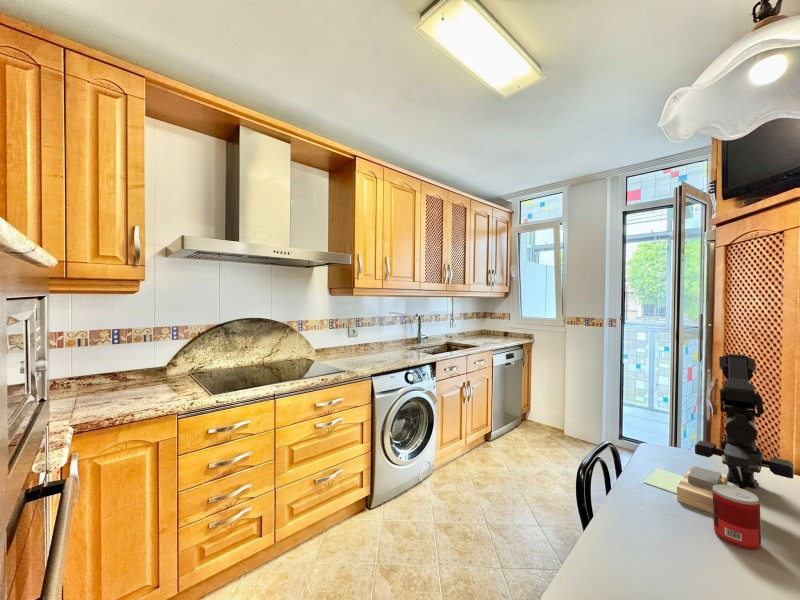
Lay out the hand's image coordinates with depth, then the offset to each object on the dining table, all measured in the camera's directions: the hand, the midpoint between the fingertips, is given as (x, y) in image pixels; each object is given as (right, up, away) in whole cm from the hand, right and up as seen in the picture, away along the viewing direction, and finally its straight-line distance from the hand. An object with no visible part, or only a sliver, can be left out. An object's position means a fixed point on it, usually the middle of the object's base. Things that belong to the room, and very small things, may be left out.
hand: (742, 488), depth 91 cm
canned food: (-14, -5, -13) cm, 20 cm away
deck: (-5, -5, +6) cm, 10 cm away
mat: (-10, -5, +14) cm, 17 cm away
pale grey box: (-5, -1, +6) cm, 8 cm away
